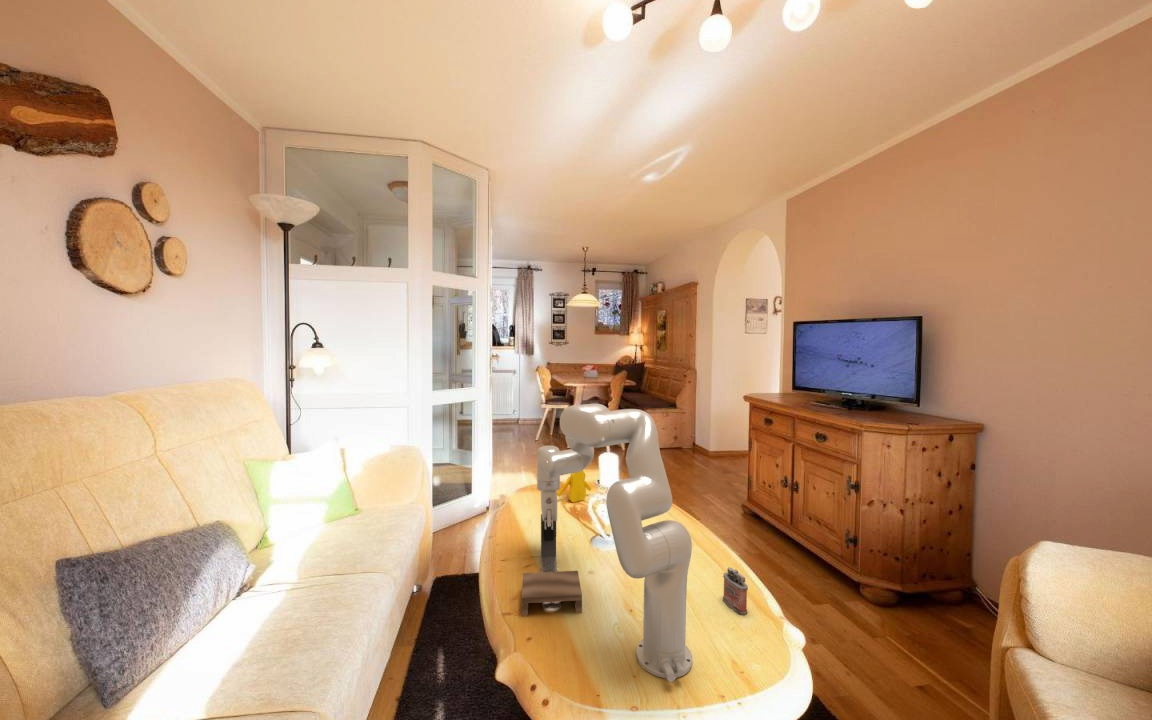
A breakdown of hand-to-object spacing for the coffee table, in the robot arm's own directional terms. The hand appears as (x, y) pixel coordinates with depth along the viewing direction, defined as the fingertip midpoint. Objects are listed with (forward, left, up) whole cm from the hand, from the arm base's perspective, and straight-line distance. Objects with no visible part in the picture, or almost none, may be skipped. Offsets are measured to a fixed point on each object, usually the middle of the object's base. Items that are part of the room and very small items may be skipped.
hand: (548, 537), depth 145 cm
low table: (-24, 0, -7) cm, 25 cm away
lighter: (-31, -50, -7) cm, 60 cm away
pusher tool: (-8, 0, -7) cm, 10 cm away
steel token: (-27, 0, -7) cm, 28 cm away
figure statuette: (+50, -14, -7) cm, 52 cm away
